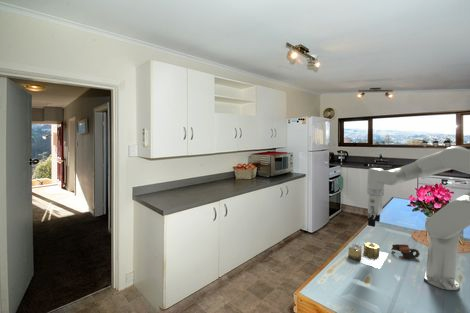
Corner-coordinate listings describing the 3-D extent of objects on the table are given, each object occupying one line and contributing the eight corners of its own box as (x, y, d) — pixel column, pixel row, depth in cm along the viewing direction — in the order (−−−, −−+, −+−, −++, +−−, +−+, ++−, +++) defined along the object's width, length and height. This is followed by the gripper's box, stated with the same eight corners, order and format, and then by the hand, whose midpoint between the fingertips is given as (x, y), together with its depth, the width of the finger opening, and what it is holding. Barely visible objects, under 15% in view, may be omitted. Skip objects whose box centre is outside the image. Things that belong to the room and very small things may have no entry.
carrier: (379, 272, 112) (380, 258, 111) (344, 259, 123) (344, 247, 122) (388, 256, 126) (389, 244, 126) (356, 246, 137) (356, 235, 137)
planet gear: (377, 257, 122) (377, 249, 122) (362, 252, 127) (362, 245, 127) (380, 252, 127) (380, 245, 127) (366, 248, 132) (366, 241, 132)
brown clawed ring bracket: (393, 260, 123) (389, 243, 127) (394, 261, 130) (391, 245, 133) (421, 261, 117) (417, 244, 120) (421, 262, 123) (417, 245, 127)
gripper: (379, 196, 115) (377, 230, 117) (387, 190, 128) (385, 221, 129) (362, 193, 120) (361, 226, 122) (371, 188, 133) (370, 217, 134)
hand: (373, 223), depth 126 cm, fingers open, 9 cm apart
